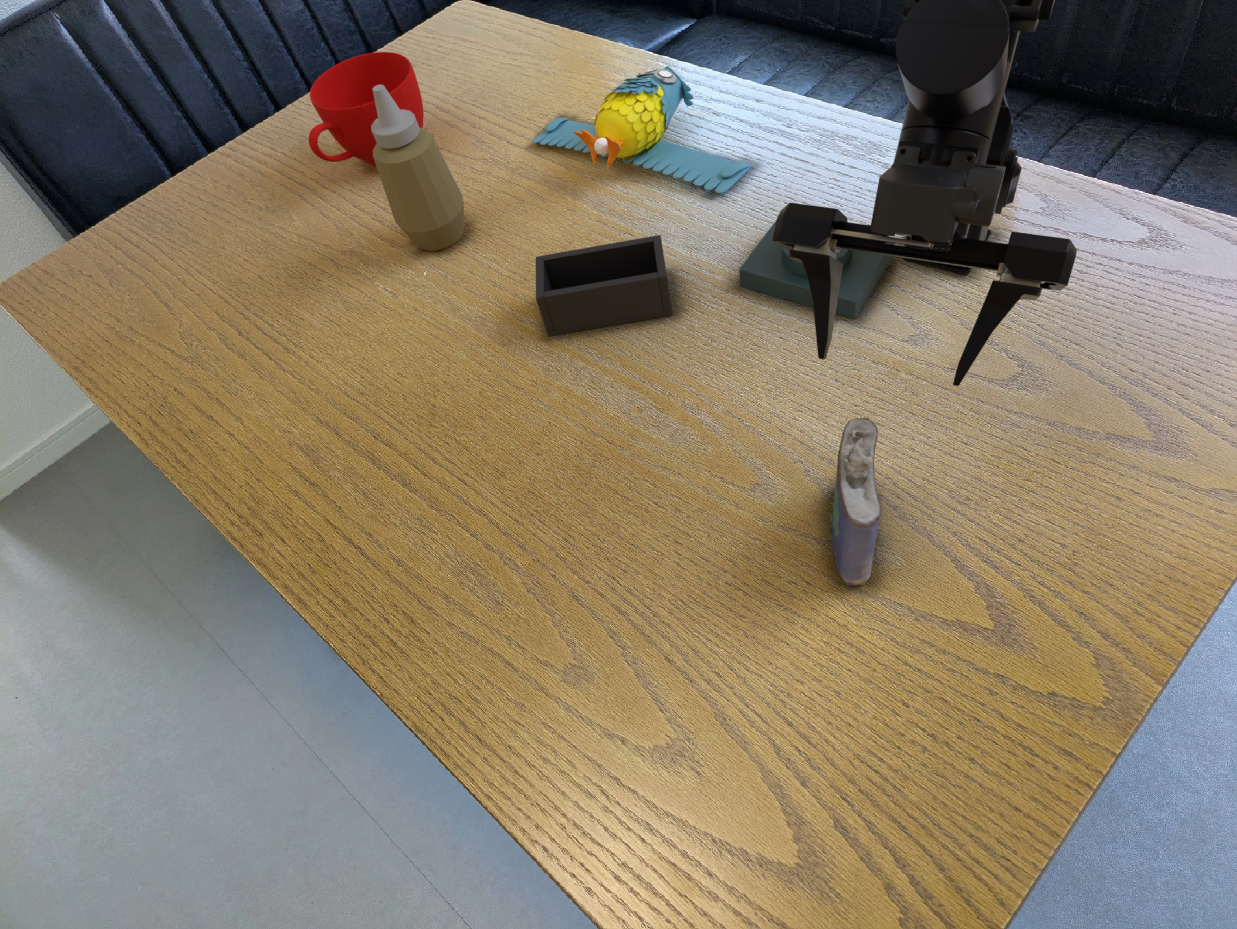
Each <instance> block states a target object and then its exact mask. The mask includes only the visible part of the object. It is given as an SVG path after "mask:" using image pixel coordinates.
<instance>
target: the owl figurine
mask: <svg viewBox="0 0 1237 929" xmlns="http://www.w3.org/2000/svg"><path fill="white" fill-rule="evenodd" d="M610 91H611V92H609V93H608V94H607V95H606V96H605V97H604V99H603V102H602V103H601V105H599V108H598V112H597V113H596V114H595V118H594V121H593V124H589V123H584V122H580V121H574V120H571V118H568V117H557V118H554V119H553V120H551V121H549V123H548V124H547V125H546V126H545V130H543V131H542V132H541V133H539V134H538V135H537V136H536V137H534V138H533V139H532V140H531V142H532V144H539V145H540V146H546V145H547V146H549V147H550V146H553V147H554V146H555V147H557V148H563V147H564V149H566V150H571V149H573V150H574V151H576V152H579V151H582V153H584V154H590V157H591V161H592V165H595V164H596V162H597V158H598V155H600V156H601V158H607V162H606V169H609V168H610V167H611V166H612V164H613V163H614V162H615V160H617V159H622V160H623V162H624V163H626V164H628V163H631V162H632V165H633V166H637V167H638V166H641V165H642V168H643V169H646V170H648V169H651V168H652V172H655V173H659V172H661V171H662V175H664V176H669V175H672V178H674V179H681V178H682V180H683V181H684V182H687V183H689V182H692V181H693V185H695V186H697V187H701V186H703V189H704V190H706V191H712V190H714V191H715V192H716V193H717V194H724V193H727V191H728V190H730V189H731V188H732V187H733V186H735V184H736V183H737V182H738V181H739V180H740V179H741V178H742V176H744V175H745V174H746V173H747V172H749V170H751V169H752V168H753V165H751V164H750V163H747V162H745V161H743V160H738V161H736V160H735V161H734V160H731V159H728V158H724V157H721V156H717V155H714V154H711V153H706V152H705V151H700V150H697V149H693V148H690V147H686V146H684V145H681V144H676V143H673V142H670V141H666V140H664V139H663V138H664V134H665V132H667V130H668V126H669V124H670V122H671V120H672V119H673V116H674V115H675V113H676V111H677V109H678V107H679V105H680V103H681V101H682V100H683V103H684V105H685V106H687V107H692V106H693V105H694V102H693V101H692V100H693V99H694V95H693V94H692V93H690V92H691V91H692V88H691V86H689V85H688V84H687V83H686V82H685V80H683V79H682V78H681V76H680V75H679V74H678V73H677V72H676V71H675V70H673V68H671V66H669V65H666V66H665V67H664V68H660V69H658V68H655V69H651V70H646V71H645V72H644V73H641V72H639V73H638V74H637V75H636V76H635V77H630V78H625V79H623V82H622V83H621V84H618V85H617V86H615V87H613V89H611V90H610Z"/></svg>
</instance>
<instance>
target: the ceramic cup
mask: <svg viewBox="0 0 1237 929" xmlns="http://www.w3.org/2000/svg"><path fill="white" fill-rule="evenodd" d="M313 82H314V83H313V84H312V86H311V87H310V90H309V99H310V103H311V104H312V106H313V108H314V109H315V111H316V113H317V115H318V117H319V119H320V120H321V121H322V123H318V124H315V126H314V127H313V128H312V129H310V131H309V134H308V139H307V140H308V145H309V148H310V150H311V151H312V153H313V154H314V155H315V156H316V157H317V158H319V159H321V160H322V161H325V162H331V163H338V162H343V161H347V160H350V159H351V158H356V159H358V160H360V161H362V162H365V163H367V164H369V165H371V166H373V167H376V168H377V166H376V163H375V160H374V157H373V149H374V147H375V146H376V144H377V142H376V140H375V138H374V135H373V133H372V131H371V126H372V124H373V122H374V121H375V120H376V119H377V118H378V114H377V109H376V104H375V99H374V94H373V87H375V86H377V85H384V87H385V88H386V90H387V91H388V93H389V94H390V96H391V97H392V99H393V100H394V101H395V103H396V104H397V106H398V107H399V109H400V110H403V109H404V110H408V111H411V112H412V113H413V114H414V115H415V118H416V120H417V123H418V125H419V127H420V128H423V127H424V103H423V98H422V93H421V89H420V86H419V82H418V79H417V76H416V73H415V70H414V68H413V65H412V62H411V61H410V60H409V59H408V58H407V57H406V56H405V55H403V54H400V53H396V52H391V51H376V52H368V53H364V54H359V55H356V56H353V57H350V58H348V59H346V60H343V61H340V62H339V63H337V64H335V65H334V66H331V67H330V68H329V69H327V70H325V71H324V72H322V74H321V75H319V76H318V77H317V79H316V80H315V81H313ZM423 129H424V128H423ZM324 131H328V132H329V133H330V135H331V136H332V137H333V139H334V140H335V141H336V142H337V144H338V145H340V147H342V149H344V150H345V151H344V152H342V153H341V152H340V153H339V154H334V155H330V154H326V153H325V152H323V151H322V150H321V148H320V146H319V142H318V141H319V137H320V135H321V134H322V133H323V132H324Z"/></svg>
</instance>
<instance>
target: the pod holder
mask: <svg viewBox="0 0 1237 929" xmlns="http://www.w3.org/2000/svg"><path fill="white" fill-rule="evenodd" d="M535 300H536V303H537V305H538V310H539V312H540V315H541V318H542V323H543V325H544V328H545V330H546V334H547V336H548V337H551V336H558V335H564V334H569V333H576V332H582V331H588V330H594V329H600V328H606V327H613V326H618V325H625V324H629V323H630V324H631V323H635V322H641V321H648V320H653V319H654V320H655V319H660V318H666V317H671V316H673V314H674V313H673V308H672V301H671V294H670V287H669V281H668V273H667V267H666V261H665V255H664V248H663V242H662V235H661V234H658V235H651V236H646V237H645V236H644V237H640V238H633V239H628V240H623V241H617V242H612V243H611V242H610V243H605V244H600V245H594V246H589V247H584V248H577V249H571V250H566V251H560V252H555V253H550V254H549V253H548V254H543V255H539V256H535Z"/></svg>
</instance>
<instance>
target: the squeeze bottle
mask: <svg viewBox="0 0 1237 929" xmlns="http://www.w3.org/2000/svg"><path fill="white" fill-rule="evenodd" d="M373 94H374V99H375V104H376V109H377V114H378V118H377V119H376V120H375V121H374V122H373V124H372V126H371V131H372V133H373V135H374V138H375V140H376V142H377V144H376V146H375V147H374V149H373V157H374V160H375V163H376V166H377V167H376V169H377V172H378V176H379V178H380V181H381V184H382V188H383V191H384V193H385V196H386V199H387V202H388V205H389V208H390V211H391V214H392V217H393V220H394V222H395V224H396V225H397V226H398V228H400V230H401V231H402V232H404V234H405V235H406V236H408V237H409V239H410V240H411V241H412V242H413V243H414V244H415V245H416V246H417V247H418V248H419V249H421V250H424V251H428V252H429V251H432V252H433V251H440V250H443V249H447V248H448V247H450V246H452V245H454V244H455V243H457V242H458V241H459V240H460V239H461V238H462V236H463V233H465V232H464V231H465V204H464V203H465V202H464V196H463V194H462V192H461V190H460V188H459V186H458V184H457V182H456V180H455V178H454V176H453V174H452V172H451V170H450V168H449V166H448V164H447V162H446V160H445V158H444V156H443V154H442V152H441V150H440V148H439V146H438V144H437V143H436V141H435V139H434V136H433V134H432V133H431V132H430V131H429V130H428V129H426V128H420V127H419V125H418V123H417V120H416V118H415V115H414V114H413V113H412V112H411V111H408V110H404V109H403V110H400V109H399V107H398V106H397V104H396V103H395V101H394V100H393V99H392V97H391V96H390V94H389V93H388V91H387V90H386V88H385V87H384V85H377V86H375V87H373Z"/></svg>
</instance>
